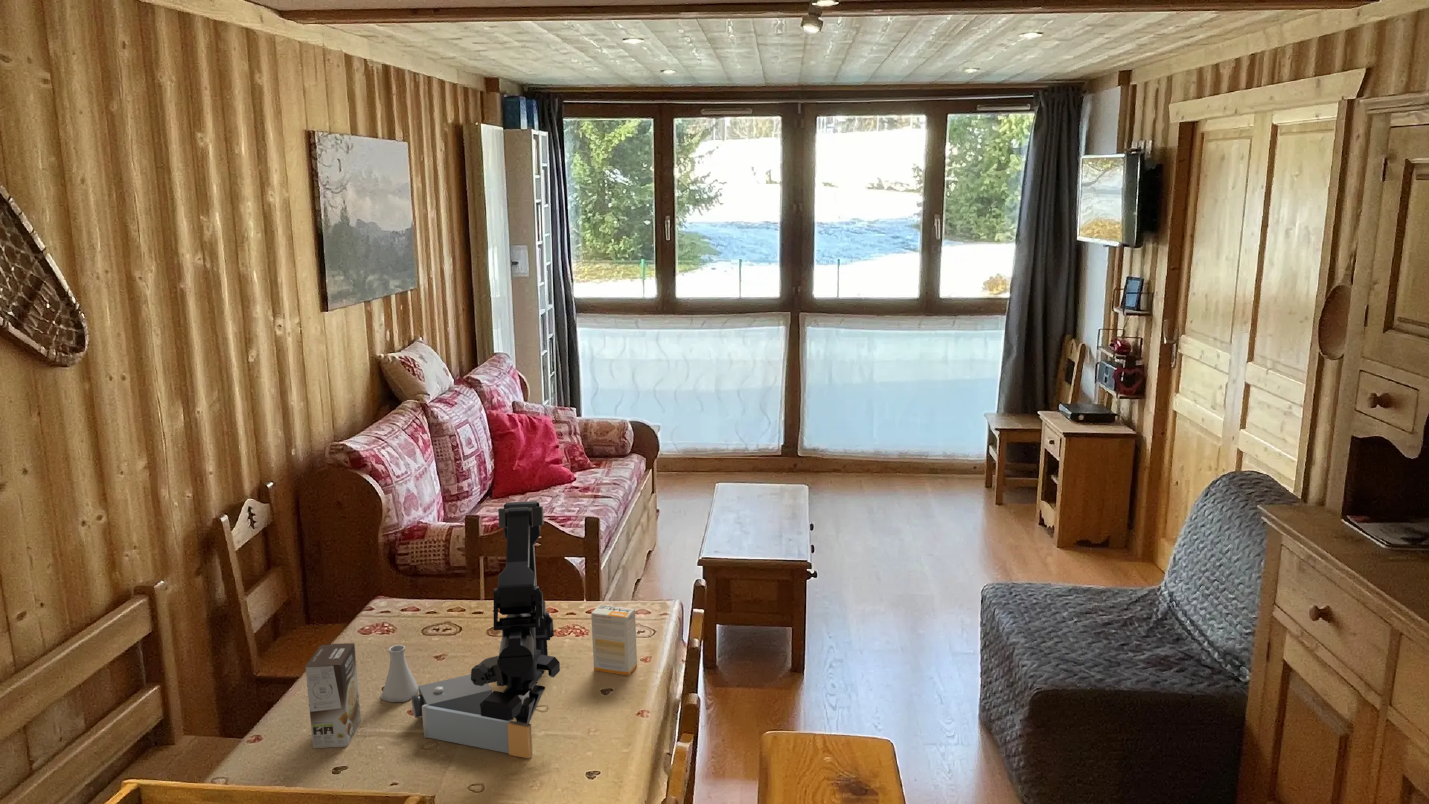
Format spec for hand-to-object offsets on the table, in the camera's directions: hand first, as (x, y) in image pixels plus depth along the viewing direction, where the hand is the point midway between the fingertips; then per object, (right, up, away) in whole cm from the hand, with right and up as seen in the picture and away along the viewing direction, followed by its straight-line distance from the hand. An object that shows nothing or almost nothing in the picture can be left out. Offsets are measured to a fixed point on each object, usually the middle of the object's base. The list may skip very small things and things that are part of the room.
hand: (523, 729), depth 177 cm
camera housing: (-15, -2, +12) cm, 20 cm away
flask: (-29, 0, +21) cm, 35 cm away
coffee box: (-36, -3, +6) cm, 36 cm away
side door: (-9, -4, +2) cm, 10 cm away
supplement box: (+13, +2, +31) cm, 34 cm away
